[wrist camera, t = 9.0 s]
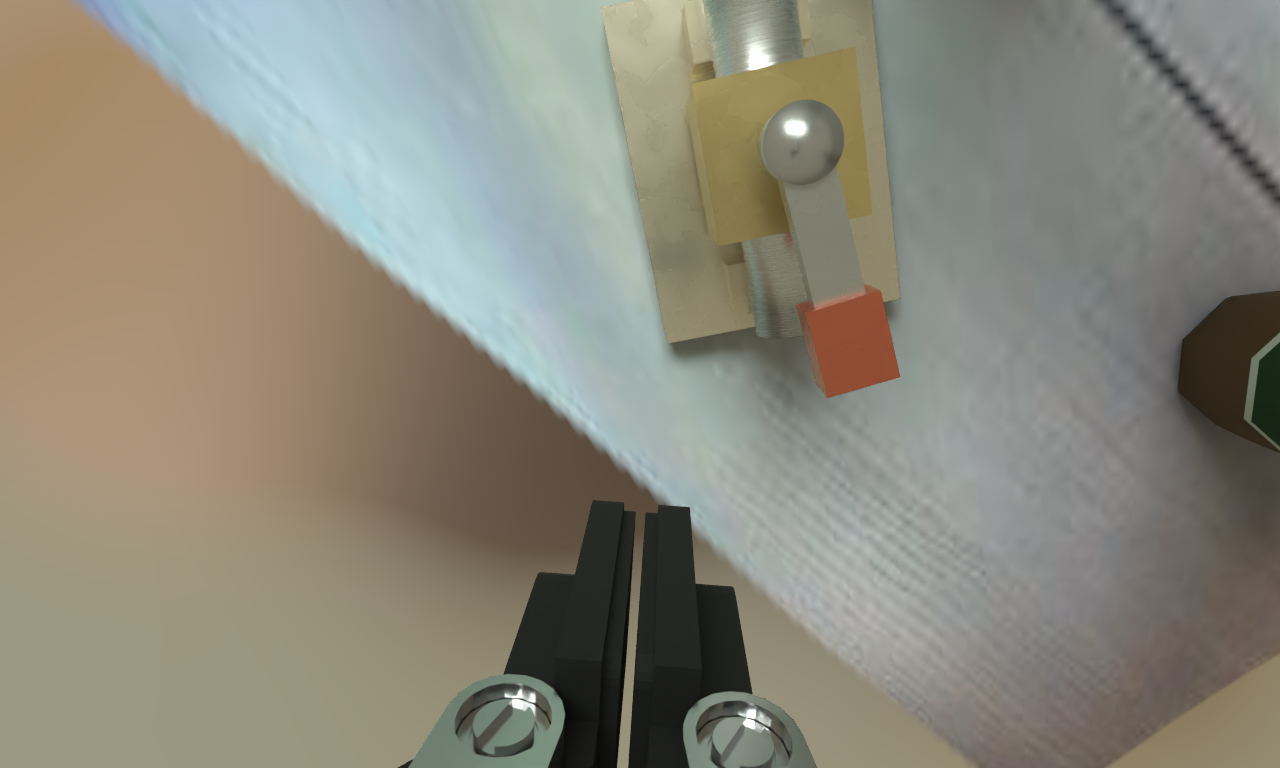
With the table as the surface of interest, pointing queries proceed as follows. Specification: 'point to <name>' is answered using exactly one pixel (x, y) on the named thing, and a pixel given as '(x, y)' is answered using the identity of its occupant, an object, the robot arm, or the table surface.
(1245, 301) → the beer bottle
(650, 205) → the valve stand
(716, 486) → the table surface
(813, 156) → the valve lever
